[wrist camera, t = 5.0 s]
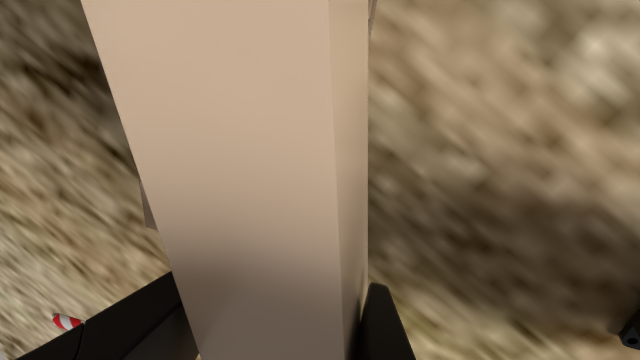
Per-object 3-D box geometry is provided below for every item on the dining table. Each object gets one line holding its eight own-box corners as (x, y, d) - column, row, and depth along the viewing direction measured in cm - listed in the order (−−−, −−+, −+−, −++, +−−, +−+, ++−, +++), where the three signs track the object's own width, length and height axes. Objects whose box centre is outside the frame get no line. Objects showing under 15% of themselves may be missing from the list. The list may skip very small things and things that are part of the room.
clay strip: (197, -117, 7) (22, -175, 4) (368, -139, 6) (317, -230, 3) (288, 406, 15) (255, 520, 12) (367, 422, 14) (352, 546, 11)
